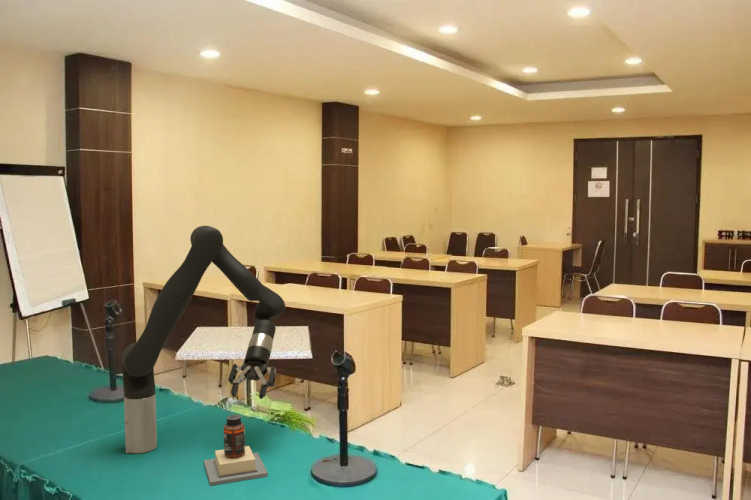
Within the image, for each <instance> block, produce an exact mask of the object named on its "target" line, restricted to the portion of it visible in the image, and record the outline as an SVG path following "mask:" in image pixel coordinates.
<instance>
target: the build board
mask: <svg viewBox="0 0 751 500" xmlns="http://www.w3.org/2000/svg"><path fill="white" fill-rule="evenodd" d="M214 456H215V457H214V458H211V459H204V460H203V465H204V470H205V472H206V475H207V479H208V482H209V485H210V486H217V485H223V484H228V483H229V484H230V483H234V482H235V483H236V482H241V481H247V480H254V479H259V478H260V479H261V478H265V477H266V478H267V477H269V472H268V470H267V468H266V467H265V464H264V463H263V460H262V458H261V457H260V454H259V452H253V450H252V449H251V446H249V445H245V454H244V455H243V456H241V457H238V458H228V457H226V456H225V453H224V449H218V450H214Z"/></svg>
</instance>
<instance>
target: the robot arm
mask: <svg viewBox="0 0 751 500" xmlns="http://www.w3.org/2000/svg"><path fill="white" fill-rule="evenodd" d="M189 239H190V243H191V246H190V249H189V251H188V253H187V254H186V257H185V259H184V260H183V261H182V264H180V265H179V267H178V268H177V269H176V270H175V271H174V273H173V274H172V275H171V276H170V277H169V278H168V280H166V282H165V283H164V285H163V287H162V289H161V290H160V292H159V294H158V295H157V296H156V299H155V301H154V304H153V305H152V309H151V311H150V314H149V317H148V320H147V323H146V325H145V328H144V330H143V331H142V333H141V335H140V336H139V338H138V339H137V341H136V342H132V343H131V344H129V345H127V346H126V347H125V349H124V350H123V352H122V354H121V355H122V356H121V363H122V364H121V367H122V370H121V371H122V386H123V387H122V388H123V403H124V405H123V406H124V409H123V410H124V436H125V437H124V439H125V443H124V444H125V454H143V453H144V454H145V453H149V452H151V451H153V450H155V449H156V448H157V446H158V443H157V441H158V438H157V434H158V433H157V403H156V402H157V399H156V397H157V396H156V382H155V371H154V368H155V366H156V363H157V362H158V359H159V356H160V354H161V352H162V350H163V347H164V345H165V343H166V342H167V340H168V338H169V336H170V335H171V333H172V331H174V328H175V326H177V324H178V322H179V320H180V319H181V317H182V316H183V314H184V313H185V311H186V309H187V307H188V305H189V304H190V302H191V300H192V298H193V296H194V295H195V292H196V290H197V288H198V286H199V284H200V282H201V280H202V279H203V276H204V274H205V273H206V271H207V269H208V268H209V267H210V265H211V264H212V263H213V265H214V266H216V268H218V269H219V270H220V271H221V272H222V273H223V274H224V276H225V277H226V278H227V279H228V280H229V282H231V283H232V285H233V286H234V287H235V288H236V289H237V290H238V291H239V292H240V293H241V294H242V296H243V297H244V298H246V300H248V301H249V302H255V301H256V302H258V303H257V304H256V306H255V308H254V311H253V312H254V314H253V315H254V318H253V320H254V327H253V330H252V335H251V337H250V339H249V342H248V345H247V349H246V353H245V357H244V360H243V364H242V365H237V364H236V363H234V364H233V365H232V367H231V370H230V373H229V375H228V378H227V380H228V382H229V384H230V385H231V390H230V394H231V396H232V397H233V398H236V397H237V395H238V392H239V388H240V385H241V384H243V383H245V381H257V382H258V381H259V380H260V382H261V386H260V389H259V392H258V398H259V399H260V400H262V399H264V398H265V397H266V394H267V390H268V388H269V387H271V388H272V387H275V383H276V382H275V381H276V376H277V369H276V367H275V366H274V365H271V367H268V366H269V363H270V357H271V354H272V352H273V343H274V338H275V334H276V330H277V329H276V328H277V327H276V325H275V323H274V322H273V321H271V320H272V319H274V318H277V317H280V316H282V315H283V314H284V313H285V311H286V303H285V301H284V299H283V297H282V296H281V295H279V294H278V293H277V292H275V291H273V290H272V289H271V288H269V287H267V286H265V285H264V284H263V283H262V282H261V281H260V279H258V278H257V277H256V275H254V273H252V272H251V271H250V270H249V269H248V268H247V267H246V266H245V265H244V264H243V263H242V262H240V261H239V259H237V258H236V257H235V256H234V255H233V254H232V253H231V252H230V251H229V250H228V248H227V247H226V246H225V244H224V237H223V234H222V232H221V231H220V230H219V229H217V228H215V227H213V226H211V225H200V226H197V227H196V228H194V229H193V230H192V232H191V234H190V238H189ZM240 371H241V372H240ZM267 373H268V374H269V376H268V380H267V381H266V379H265V377H264V376H265V375H266V374H267Z"/></svg>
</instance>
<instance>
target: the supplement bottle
mask: <svg viewBox="0 0 751 500" xmlns="http://www.w3.org/2000/svg"><path fill="white" fill-rule="evenodd" d="M245 431H246V430H245V423H244V422H242V416H241V415H240V414H231V415H228V416H227V417H226V423H225V424H224V425H223V450H224V453H225V456H226V457H228V458H238V457H241V456H243V455H244V454H245V446H246V435H245V434H246V432H245Z"/></svg>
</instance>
